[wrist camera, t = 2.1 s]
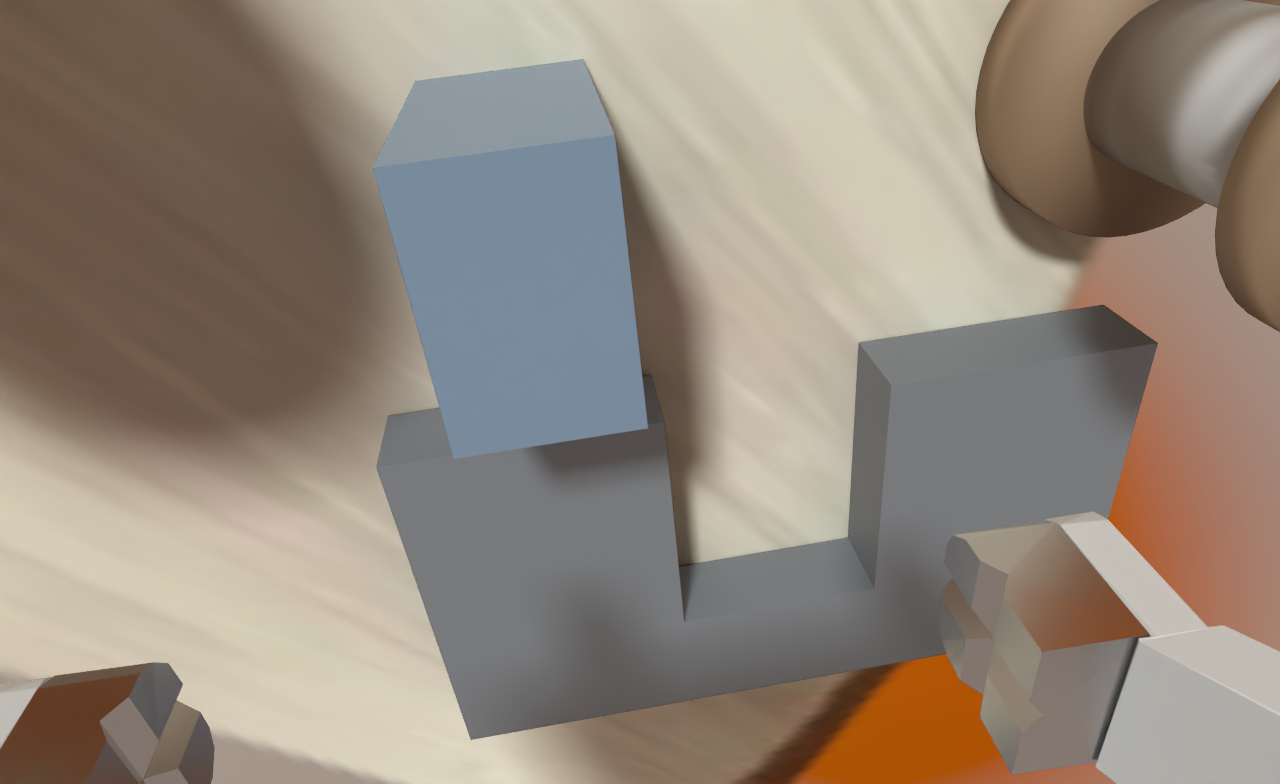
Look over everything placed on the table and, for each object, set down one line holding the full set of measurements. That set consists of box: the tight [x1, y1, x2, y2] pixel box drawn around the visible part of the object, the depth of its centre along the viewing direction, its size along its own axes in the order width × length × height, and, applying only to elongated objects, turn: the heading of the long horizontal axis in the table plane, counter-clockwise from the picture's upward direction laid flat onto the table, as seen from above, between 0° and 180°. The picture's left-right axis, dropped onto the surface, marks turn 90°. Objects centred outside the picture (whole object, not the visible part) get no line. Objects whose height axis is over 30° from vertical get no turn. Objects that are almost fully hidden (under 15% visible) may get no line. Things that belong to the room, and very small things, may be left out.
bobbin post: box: [975, 0, 1280, 332], centre depth 17 cm, size 8×8×9 cm
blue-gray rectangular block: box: [373, 59, 648, 459], centre depth 18 cm, size 4×6×7 cm, turn 6°
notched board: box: [376, 305, 1158, 740], centre depth 27 cm, size 22×12×2 cm, turn 96°
